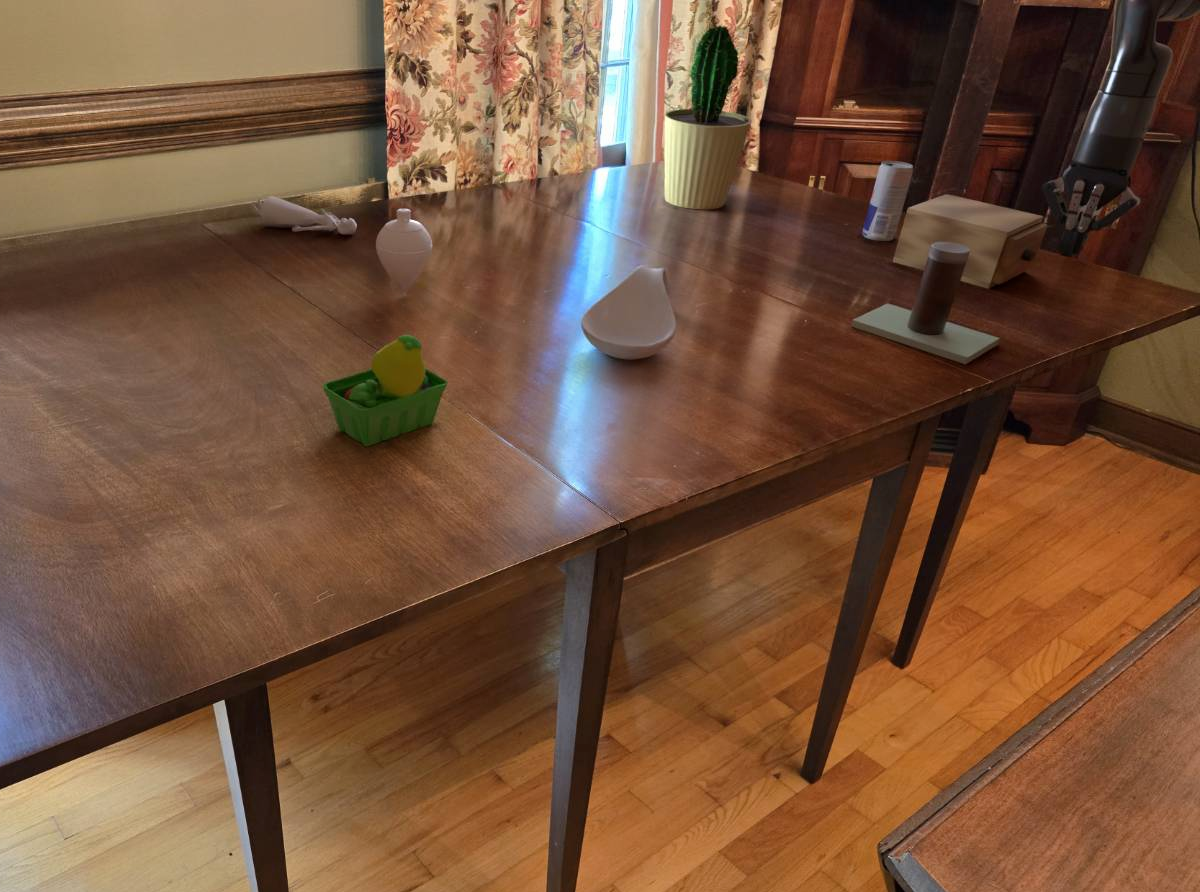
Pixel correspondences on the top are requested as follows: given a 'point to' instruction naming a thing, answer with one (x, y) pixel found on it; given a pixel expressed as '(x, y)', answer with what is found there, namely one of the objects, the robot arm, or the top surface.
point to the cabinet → (961, 234)
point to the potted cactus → (705, 129)
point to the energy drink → (887, 200)
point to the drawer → (1019, 253)
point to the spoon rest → (632, 316)
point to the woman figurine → (299, 217)
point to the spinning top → (404, 249)
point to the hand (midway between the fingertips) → (1068, 255)
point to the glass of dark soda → (938, 287)
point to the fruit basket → (387, 394)
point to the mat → (949, 344)
